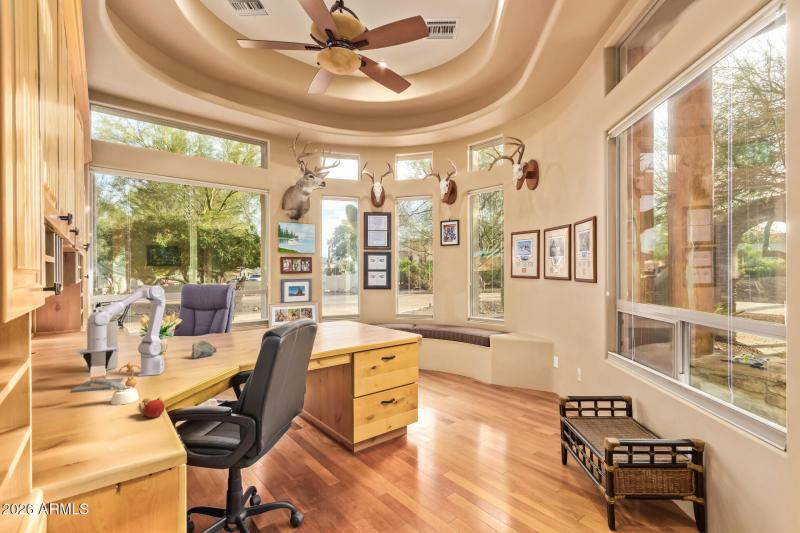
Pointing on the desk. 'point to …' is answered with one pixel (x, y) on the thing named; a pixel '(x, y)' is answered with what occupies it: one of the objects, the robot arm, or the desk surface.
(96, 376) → the terracotta brick
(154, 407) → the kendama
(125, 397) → the inkwell
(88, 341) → the cylinder vase
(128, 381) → the figurine
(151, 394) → the desk surface
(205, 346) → the mineral rock
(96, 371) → the cream brick
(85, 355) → the robot arm
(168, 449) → the desk surface
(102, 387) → the baseplate
